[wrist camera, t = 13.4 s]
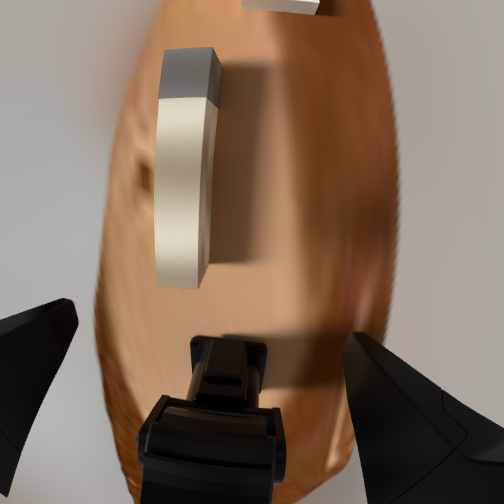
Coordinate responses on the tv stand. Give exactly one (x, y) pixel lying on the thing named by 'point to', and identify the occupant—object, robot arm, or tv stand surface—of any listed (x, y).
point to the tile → (282, 6)
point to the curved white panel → (185, 164)
